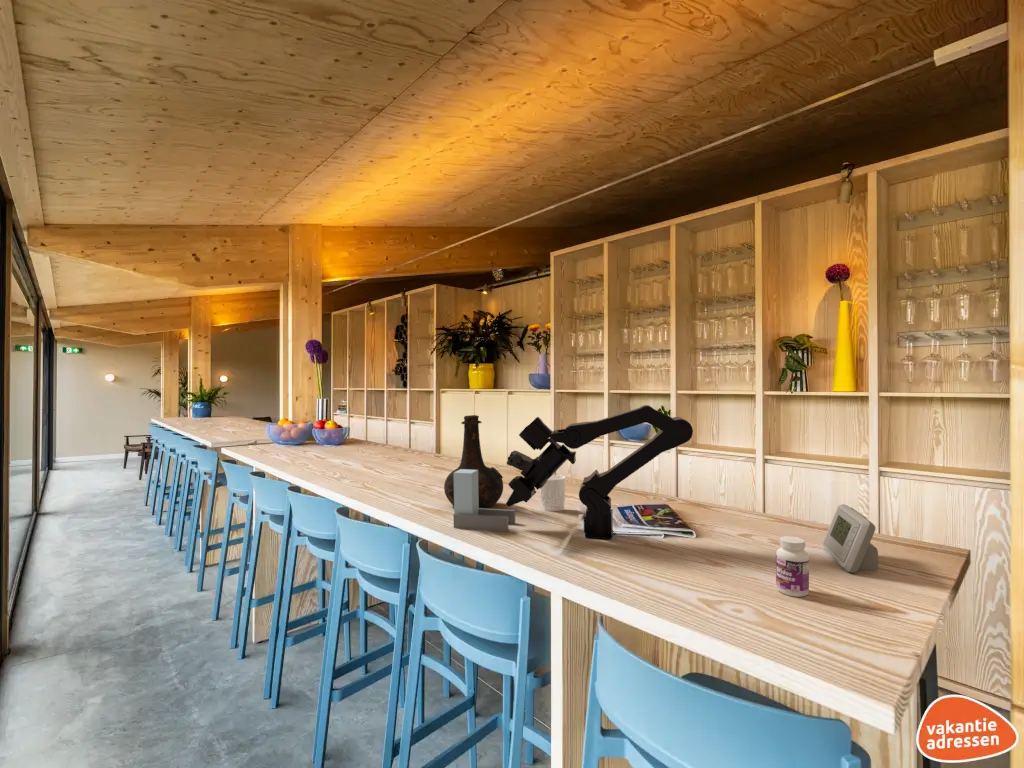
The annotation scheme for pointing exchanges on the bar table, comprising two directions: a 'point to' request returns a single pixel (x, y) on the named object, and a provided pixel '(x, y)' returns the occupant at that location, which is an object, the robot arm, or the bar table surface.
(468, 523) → the chute
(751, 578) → the bar table surface
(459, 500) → the block
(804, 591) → the pill bottle
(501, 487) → the dark brown round-bodied bottle
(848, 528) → the digital clock
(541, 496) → the white cup
